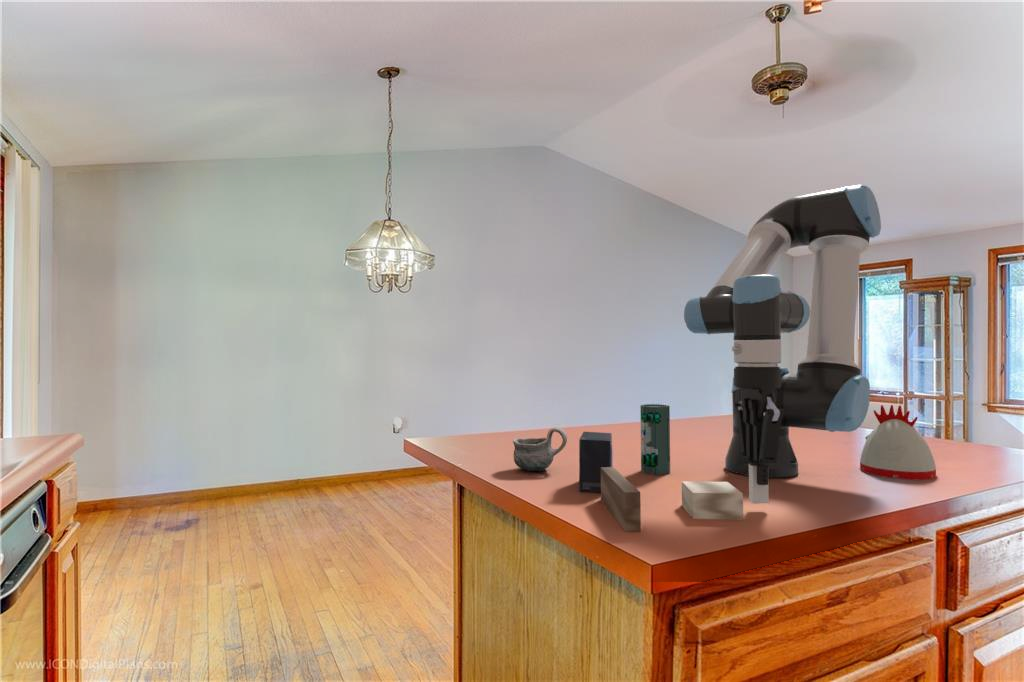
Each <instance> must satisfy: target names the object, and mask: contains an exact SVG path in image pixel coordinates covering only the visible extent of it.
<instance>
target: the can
mask: <svg viewBox="0 0 1024 682" xmlns="http://www.w3.org/2000/svg"><path fill="white" fill-rule="evenodd" d="M639 408H640V469H641V472H642V473H643V472H644V473H643V474H647V475H652V474H655V475H656V476H657V475H658V476H659V475H660V474H665V475H669V474H670V473H671V422H670V420H671V419H670V416H671V415H670V413H671V412H670V405H669V404H668V405H667V404H659V403H658V404H657V403H656V404H655V403H653V404H651V403H649V404H648V403H647V404H640V407H639ZM668 473H669V474H668ZM660 476H661V475H660Z"/></svg>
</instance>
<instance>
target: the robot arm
mask: <svg viewBox="0 0 1024 682" xmlns="http://www.w3.org/2000/svg"><path fill="white" fill-rule="evenodd" d="M881 221H882V220H881V214H880V210H879V205H878V202H877V199H876V197H875V193H874V192H873V190H872V189H871V188H870V187H869V186H868V185H865V184H857V185H851V186H846V185H845V186H843V187H840V188H835V189H829V190H824V191H819V192H813V193H809V194H804V195H798V196H797V195H796V196H793V197H790V198H788V199H786V200H783V201H781V202H780V203H778V204H777V205H775V206H774V207H773V208H771V209H770V210H768V211H767V212H766V213H764V214H763V215H762V216H761V217H760V218H758V219H757V221H756V222H755V223H754V224H753V226H752V227H751V228H750V230H749V232H748V234H747V242H745V244H744V245H743V246H742V248H741V249H740V251H739V252H738V253H737V254H736V256H735V257H734V258H733V260H732V261H731V262H730V264H729V265H728V266H727V268H726V269H725V271H724V272H723V273H722V274H721V276H720V277H719V279H717V282H715V284H714V285H713V286H712V288H711V289H710V290H709V291H708V293H707V295H706V296H698V297H693V298H691V299H689V300H688V301H687V302H686V303H685V306H684V310H683V320H684V323H685V325H686V327H687V329H688V330H689V332H691V333H693V334H703V335H704V334H706V335H711V334H712V335H713V334H714V335H715V334H733V346H732V347H731V351H732V352H733V362H734V363H735V364H737V366H735V367H733V378H732V386H731V387H732V388H731V396H732V397H731V399H732V438H731V440H730V444H729V446H728V450H727V453H726V456H725V459H724V460H725V461H724V463H725V464H724V465H725V466H724V467H725V469H726V471H729V472H732V473H734V474H735V473H736V474H739V475H742V476H743V475H744V476H748V502H750V503H751V504H754V505H755V504H757V505H758V504H770V503H769V502H770V500H769V498H770V497H769V495H770V493H769V492H770V491H769V488H770V487H769V478H787V477H788V478H790V477H794V476H797V475H798V474H799V463H798V460H797V457H796V454H795V451H794V448H793V446H792V443H791V440H790V434H789V433H790V430H789V429H790V428H796V429H797V428H799V429H807V430H808V429H810V430H819V431H828V432H831V433H834V432H845V433H849V432H850V433H851V432H855V431H856V430H857V429H859V428H860V427H861V426H862V424H863V423H864V421H865V419H866V416H867V414H868V411H869V406H870V403H871V391H870V390H871V385H870V380H869V379H868V378H867V377H866V376H864V375H863V374H861V370H862V369H861V367H860V366H859V365H858V364H857V363H856V362H854V345H855V330H856V315H857V301H858V290H859V289H858V287H859V275H860V274H859V273H860V261H861V254H863V253H864V252H866V251H867V250H868V249H869V247H870V239H871V238H872V239H873V238H875V237H879V235H880V234H881V229H882V222H881ZM803 246H805V247H806V246H807V247H808V250H809V251H810V252H811V253H812V254H813V255H814V264H813V265H814V267H813V278H812V289H811V299H810V303H811V304H810V306H809V303H808V301H807V300H806V299H805V298H804V296H802V295H800V294H797V293H795V292H792V291H790V290H789V291H787V290H786V291H785V290H784V291H783V290H782V288H781V280H780V278H779V276H776V275H773V274H768V273H769V271H770V270H771V268H772V267H773V265H774V264H775V263H776V261H777V259H778V258H781V257H782V256H784V255H785V254H786V253H787V252H788V251H789V250H790V249H791V250H792V249H795V248H798V247H803ZM808 321H809V323H808V335H807V337H808V338H807V346H806V357H805V358H804V359H802V360H801V361H800V362H798V363H797V372H796V373H790V371H789V369H788V367H783V366H782V367H780V366H779V365H778V364H781V363H782V340H781V339H782V333H783V334H784V333H787V334H790V333H793V332H797V331H798V330H800V329H802V328H803V327H805V325H807V322H808Z"/></svg>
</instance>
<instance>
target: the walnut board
mask: <svg viewBox="0 0 1024 682" xmlns="http://www.w3.org/2000/svg"><path fill="white" fill-rule="evenodd" d="M600 501H601V502H602V503H603V504H604V506H605V507H606V508H607V510H608V511H609V512H610V514H611V515H612V516H613V518H615V520H616V521H617V523H618V524H619V525H620V526H621V528H622V529H623V530H624V531H625V532H642V528H641V527H642V526H641V525H642V524H641V521H642V519H641V518H642V516H641V514H642V513H641V510H642V509H641V491H640V490H639V489H638V488H636V486H634V485H633V484H632V483H631V482H630V481H629V480H628V478H625V476H624V475H623V474H622V473H620V472H619V470H617V469H616V468H615V467H614V466H612V467H601V492H600Z"/></svg>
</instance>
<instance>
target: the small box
mask: <svg viewBox="0 0 1024 682" xmlns="http://www.w3.org/2000/svg"><path fill="white" fill-rule="evenodd" d="M578 445H579V447H578V449H579V453H578V454H579V455H578V457H579V458H578V459H579V460H578V461H579V466H578V469H579V471H578V472H579V473H578V474H579V476H578V478H579V479H578V491H579V492H584V493H586V492H587V493H601V467H613V433H611V432H600V431H599V432H598V431H583V432H582V434H581V436H580V438H579V444H578Z"/></svg>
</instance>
